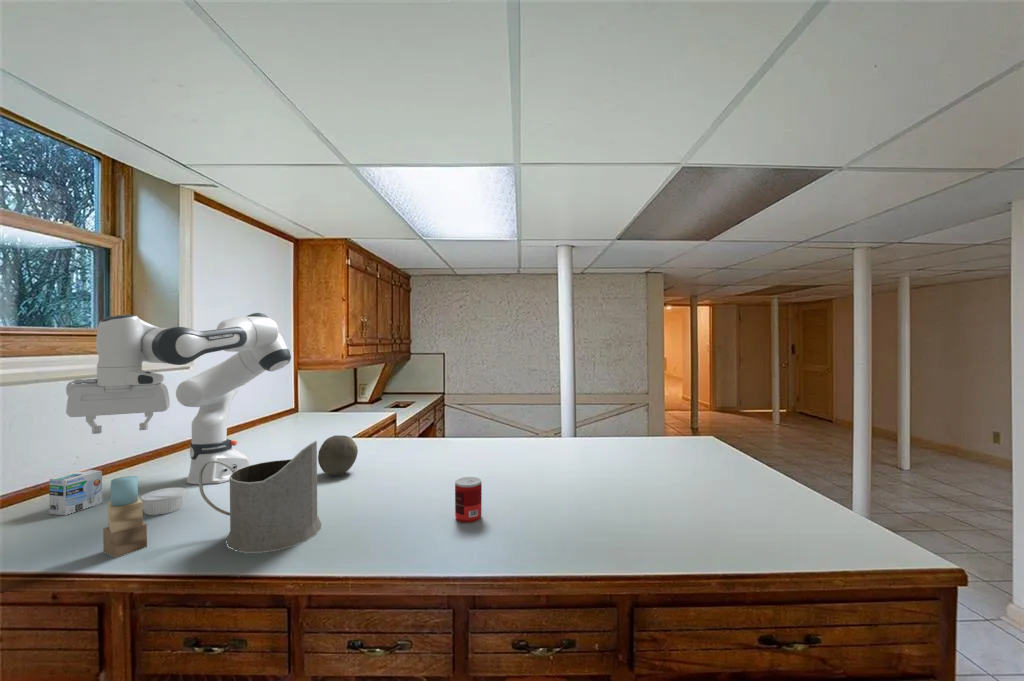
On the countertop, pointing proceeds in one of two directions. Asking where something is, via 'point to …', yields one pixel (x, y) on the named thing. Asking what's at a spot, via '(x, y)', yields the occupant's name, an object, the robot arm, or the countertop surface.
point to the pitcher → (272, 503)
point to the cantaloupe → (337, 455)
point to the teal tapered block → (124, 491)
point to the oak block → (125, 516)
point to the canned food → (468, 499)
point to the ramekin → (163, 500)
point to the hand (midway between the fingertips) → (120, 431)
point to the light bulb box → (75, 491)
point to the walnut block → (124, 540)
